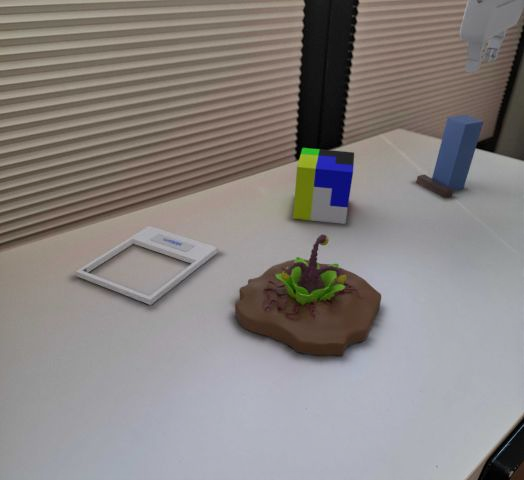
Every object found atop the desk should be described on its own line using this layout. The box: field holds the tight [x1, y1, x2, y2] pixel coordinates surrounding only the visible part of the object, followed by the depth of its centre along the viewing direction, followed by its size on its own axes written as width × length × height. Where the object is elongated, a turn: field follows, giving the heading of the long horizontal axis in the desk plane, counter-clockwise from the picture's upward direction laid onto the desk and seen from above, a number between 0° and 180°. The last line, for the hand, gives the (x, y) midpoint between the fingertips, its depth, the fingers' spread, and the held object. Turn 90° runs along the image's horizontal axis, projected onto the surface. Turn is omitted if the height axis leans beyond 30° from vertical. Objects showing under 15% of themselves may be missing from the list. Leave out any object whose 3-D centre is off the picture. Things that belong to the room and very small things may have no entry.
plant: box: [234, 234, 382, 357], centre depth 72 cm, size 20×20×11 cm
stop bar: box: [416, 174, 455, 199], centre depth 110 cm, size 2×9×2 cm, turn 29°
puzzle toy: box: [292, 147, 355, 225], centre depth 97 cm, size 10×10×10 cm
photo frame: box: [75, 225, 219, 306], centre depth 83 cm, size 15×1×18 cm
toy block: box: [431, 114, 484, 192], centre depth 107 cm, size 5×5×14 cm
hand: (480, 66), depth 81 cm, fingers open, 8 cm apart
